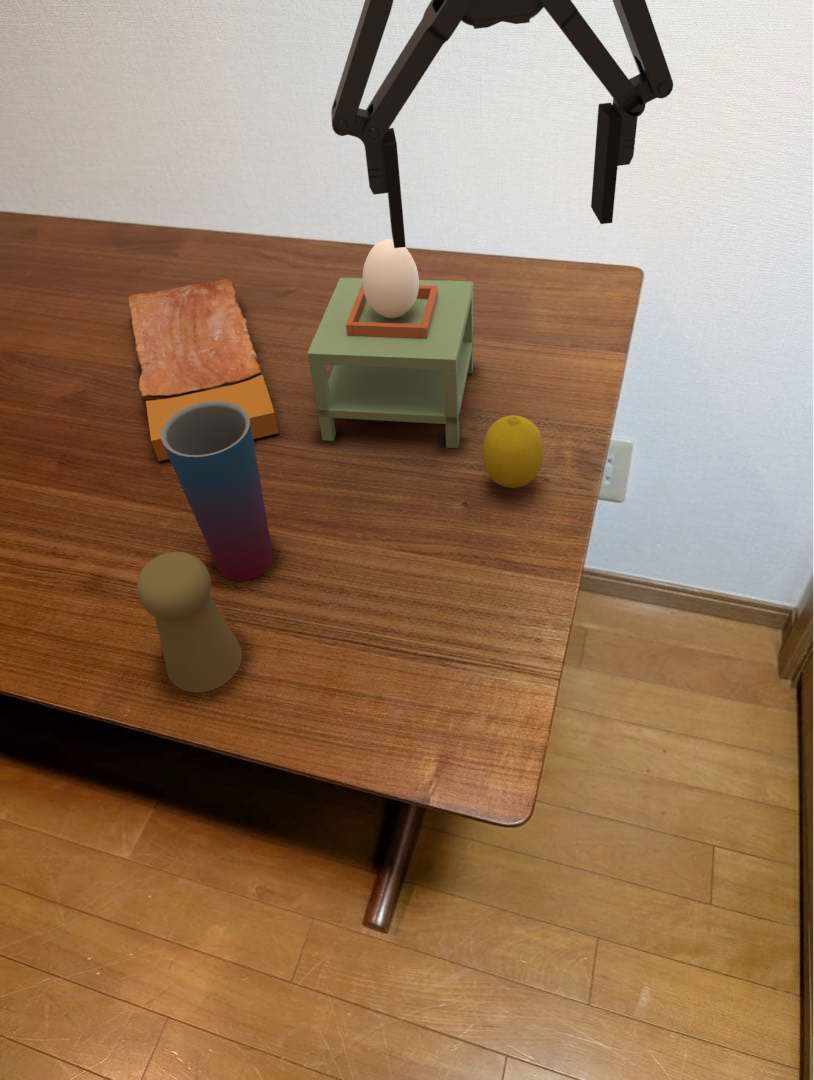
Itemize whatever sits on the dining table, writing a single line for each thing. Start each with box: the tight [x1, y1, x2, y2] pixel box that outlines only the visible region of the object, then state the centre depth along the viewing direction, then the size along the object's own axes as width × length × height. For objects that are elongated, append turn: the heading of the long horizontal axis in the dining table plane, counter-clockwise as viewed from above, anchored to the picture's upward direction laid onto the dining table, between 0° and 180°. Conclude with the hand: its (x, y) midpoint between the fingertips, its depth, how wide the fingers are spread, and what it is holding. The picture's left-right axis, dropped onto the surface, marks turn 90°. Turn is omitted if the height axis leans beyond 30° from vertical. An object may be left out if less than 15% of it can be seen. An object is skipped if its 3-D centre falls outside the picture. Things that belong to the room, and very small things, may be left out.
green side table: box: [306, 277, 474, 449], centre depth 85 cm, size 14×14×12 cm
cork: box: [136, 551, 243, 694], centre depth 63 cm, size 6×6×11 cm
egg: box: [361, 238, 420, 318], centre depth 79 cm, size 5×5×8 cm
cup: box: [161, 401, 274, 582], centre depth 69 cm, size 7×7×15 cm
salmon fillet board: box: [127, 278, 280, 462], centre depth 94 cm, size 13×30×3 cm, turn 17°
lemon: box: [481, 414, 544, 489], centre depth 76 cm, size 6×6×8 cm
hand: (499, 227), depth 55 cm, fingers open, 13 cm apart
